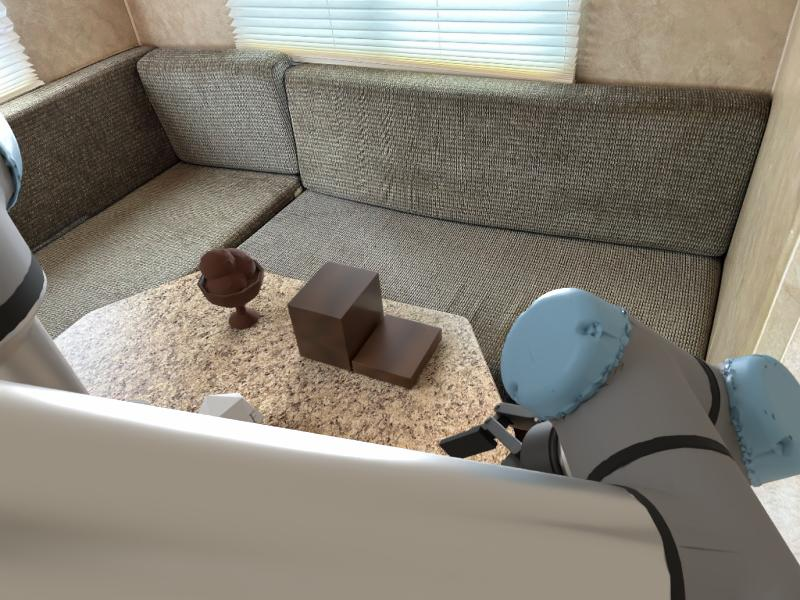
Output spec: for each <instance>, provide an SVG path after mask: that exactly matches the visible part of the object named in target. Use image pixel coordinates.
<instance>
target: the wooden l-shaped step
mask: <svg viewBox="0 0 800 600" xmlns="http://www.w3.org/2000/svg"><path fill="white" fill-rule="evenodd" d="M286 306H287V310H288V315H289V318H290V321H291V325H292V330H293V334H294V338H295V342H296V345H297V349H298V353H299V356H300V357H301V358H305V359H309V360H312V361H314V362H319V363H322V364H325V365H328V366H331V367H334V368H338V369H341V370H345V371H347V372H352V371H353V373H354V374H358V375H361V376H363V377H368V378H371V379H374V380H378V381H380V382H384V383H386V384H390V385H394V386H397V387H401V388H404V389H407V390H409V391H412V390H413V389H414V386H415V385H416V383H417V381H418V380H419V378H421V375H422V373H423V372H424V370H425V368H426V367H427V365H428V364H429V362H430V360H431V358H432V357H433V355H434V354H435V352H436V350H437V348H438V347H439V345H440V344H441V342H442V341H443V328H442V327H440V326H436V325H433V324H429V323H424V322H421V321H417V320H413V319H409V318H405V317H402V316H398V315H394V314H391V313H390V314H389V313H386V314H385V311H384V305H383V297H382V287H381V279H380V273H379V271H376V270H371V269H367V268H362V267H357V266H353V265H349V264H345V263H340V262H335V261H331V260H326V262H324V264H322V266H321V267H320V268H319V269H318V270H317V271H316V272H315V273H314V274H313V276H312V277H310V279H309V280H307V282H306V283H305V284H304V285H303V286H302V287H301V289H300V290H298V291H297V293H296V294H294V296H293V297H292V298H291V299H290V300H289V301H288V303H287V304H286Z"/></svg>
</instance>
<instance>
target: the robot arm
mask: <svg viewBox="0 0 800 600" xmlns="http://www.w3.org/2000/svg"><path fill="white" fill-rule="evenodd" d="M22 176H23V159H22V154H21V151H20V146H19V144H18V141H17V138H16V137H15V134H14V132H13V129H12V128H11V126H10V125H9V123H8V121H7V119H6V118H5V117H4V115H3V114H2V113H1V112H0V600H800V563H799V561H798V560H797V558H796V557H795V555H794V553H793V552H792V550H791V549H790V547H789V545H788V544H787V542H786V540H785V539H784V538H783V536H782V534H781V533H780V531H779V529H778V528H777V526H776V524H775V523H774V521H773V520H772V518H771V516H770V515H769V514H768V512H767V510H766V508H765V507H764V505H763V503H762V502H761V500H760V499H759V498H758V495H757V494H756V492H755V491H754V489H753V488H759V487H761V486H762V485H765V484H769V483H773V482H777V481H779V480H784V479H788V478H791V477H796V476H800V383H799V381H798V380H797V378H796V377H795V375H794V374H793V373H792V372H791V371H790V370H789V369H788V368H787V366H786V365H784V363H782V362H781V361H779V360H778V359H776V358H775V357H773V356H770V355H768V354H758V353H753V354H747V355H744V356H739V357H734V358H732V357H729V358H726V359H724V361H722V362H720V363H718V364H714V365H713V364H710V363H708V362H707V361H706V360H704V359H702V358H701V357H698V356H697V355H694V354H691V353H690V352H688V351H686V350H685V349H683V348H682V347H680V346H678V345H677V344H676V343H674V342H673V341H672V340H670V339H668V338H666V337H665V336H663V335H661V334H660V333H659V332H657V331H655V330H654V329H652V328H651V327H649V326H648V325H646V324H645V323H643V322H641V321H640V320H638V319H637V318H635V317H634V316H632V315H630V313H629V311H628V310H627V309H626V308H624V307H622V306H620V305H619V304H616V305H615V304H612V303H611V302H608V301H607V300H605V299H603V298H601V297H599V296H597V295H595V294H593V293H591V292H589V291H587V290H585V289H581V288H576V287H563V288H557V289H554V290H551V291H548V292H546V293H545V294H544V293H543V294H542V295H541V296H539V297H538V298H537V299H535V300H534V301H533V302H532V304H530V305H529V306H528V308H527V309H526V310H525V311H523V312H521V313H520V314H519V316H518V317H517V318H516V320H514V321H515V322H514V323H513V324H512V326H511V328H510V330H509V332H508V333H507V334H508V335H507V336H506V339H505V342H504V345H503V348H502V352H501V358H500V376H501V381H502V384H503V387H504V389H505V391H506V393H507V394H508V395H509V396H510V398H511V400H513V401H514V402H515V403H516V404H513V403H507V402H503V401H501V402H498V403H497V404H495V406H494V407H493V412H494V415H493V416H488V417H487V418H486V419H485V420H484V422H483V423H481V424H478V425H475V426H472V427H470V428H469V429H467V430H465V431H461V432H460V433H456V434H454V435H450V436H448V437H446V438H443V439H440V441H439V442H438V446H439V448H440V449H441V450H443V451H444V452H445V453H446V454H447V455H444V454H437V453H431V452H426V451H420V450H414V449H410V448H409V449H408V448H404V447H403V448H401V447H396V446H391V445H386V444H385V445H384V444H380V443H379V444H378V443H373V442H366V441H360V440H356V439H351V438H350V439H349V438H343V437H337V436H333V435H332V436H331V435H325V434H321V433H320V434H319V433H313V432H308V431H302V430H297V429H290V428H286V427H285V428H284V427H280V426H273V425H266V424H262V423H261V424H256V423H250V422H244V421H238V420H232V419H227V418H221V417H215V416H209V415H203V414H198V412H197V413H196V412H191V411H185V410H179V409H173V408H167V407H162V406H156V405H151V404H150V405H151V406H150V405H144V404H138V403H133V402H127V401H128V400H126V401H125V400H120V399H114V398H109V397H104V396H96V395H91V393H90V392H89V391H88V389H87V388H86V386H85V385H84V384H83V381H81V379H80V378H79V376H78V375H77V373H76V372H75V370H74V369H73V367H72V366H71V365H70V363H69V361H68V360H67V358H66V357H65V356H64V354H63V353H62V352H61V350H60V349H59V347H58V345H57V344H56V342H55V341H54V339H53V338H52V337H51V335H50V334H49V332H48V331H47V329H46V328H45V326H44V325H43V324H42V322H41V320H40V319H39V318H38V317H37V314H38V312H39V310H40V308H41V306H42V304H43V301H44V298H45V296H46V292H47V288H48V279H47V276H46V273H45V271H44V269H43V267H42V266H41V264H40V263H39V261H38V260H37V257H35V255H34V253H33V252H32V251H31V249H30V246H29V245H28V244H27V242H26V241H25V239H24V238H23V236H22V234H21V233H20V231H19V230H18V228H17V226H16V225H15V223H14V222H13V220H12V218H11V217H10V215H9V213H8V212H9V211H10V209H12V208H13V207H14V206H15V205H16V203H17V201H18V196H19V195H20V192H21V180H22ZM508 427H510V428H513V429H517V430H523V431H526V433H525V435H524V437H523V439H522V442H521V441H520V440H519V439H518V438H516V436H514V435H513V434H512V433H510V432H509V431H508V430H507V429H508ZM496 439H497V440H498V441H499V442H500V443H501V444H502V446H503V447H505V448H506V449H507V450H508V451H509V453H508V455H507V456H505V458H504V459H502V460H501V462H500V464H496V463H491V462H485V461H479V460H472V459H467V458H470V457H474V456H476V455H480V454H483V453H486V452H489V451H492V450H493V451H494V450H496V449H497V447H498V445H499V442H498V441H496ZM752 487H753V488H752Z"/></svg>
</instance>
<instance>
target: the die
mask: <svg viewBox="0 0 800 600" xmlns="http://www.w3.org/2000/svg"><path fill="white" fill-rule="evenodd" d="M197 414H203V415H209V416H215V417H221V418H227V419H232V420H238V421H244V422H250V423H256V424H262V423H263V420H264V418H265V416H264V415H263V414H262V413H261V412H260V411H259V410H258V409H257V408H256V407H255V406H253V405H252V404H251V403H250V402H249V401H248V400H247V399H246V398H245V397H243V395H241V394H240V393H239V392H231V393H219V394H218V393H217V394H206V395H205V396H204V398H203V400H202V403H201V405H200V407H199V410H198V412H197Z"/></svg>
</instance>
